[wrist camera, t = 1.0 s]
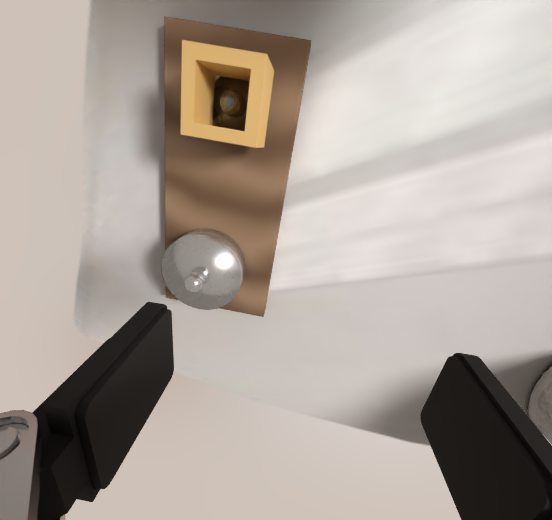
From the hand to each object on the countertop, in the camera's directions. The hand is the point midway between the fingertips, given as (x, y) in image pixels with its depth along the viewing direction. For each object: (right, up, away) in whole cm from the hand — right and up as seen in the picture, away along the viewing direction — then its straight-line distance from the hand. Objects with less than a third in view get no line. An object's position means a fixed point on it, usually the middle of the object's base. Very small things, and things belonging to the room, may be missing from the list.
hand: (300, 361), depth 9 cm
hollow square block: (-4, +17, +15) cm, 23 cm away
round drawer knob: (-4, +18, +16) cm, 25 cm away
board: (-6, +11, +21) cm, 25 cm away
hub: (-9, +3, +23) cm, 25 cm away
